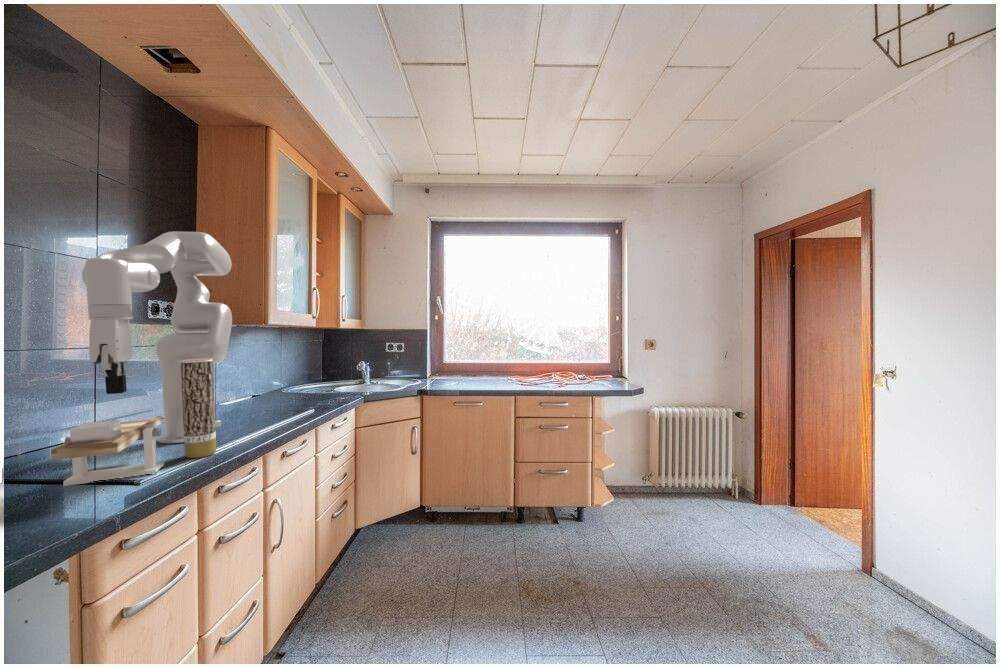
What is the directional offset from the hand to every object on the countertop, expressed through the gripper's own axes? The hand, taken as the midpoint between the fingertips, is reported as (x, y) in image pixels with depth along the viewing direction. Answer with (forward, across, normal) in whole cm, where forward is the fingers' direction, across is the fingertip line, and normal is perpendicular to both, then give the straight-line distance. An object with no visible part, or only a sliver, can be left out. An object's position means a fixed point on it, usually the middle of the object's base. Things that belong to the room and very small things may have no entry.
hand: (116, 392), depth 99 cm
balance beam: (+13, +2, 0) cm, 13 cm away
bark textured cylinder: (+19, -7, +14) cm, 25 cm away
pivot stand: (+19, +2, 0) cm, 19 cm away
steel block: (+9, +11, 0) cm, 14 cm away
